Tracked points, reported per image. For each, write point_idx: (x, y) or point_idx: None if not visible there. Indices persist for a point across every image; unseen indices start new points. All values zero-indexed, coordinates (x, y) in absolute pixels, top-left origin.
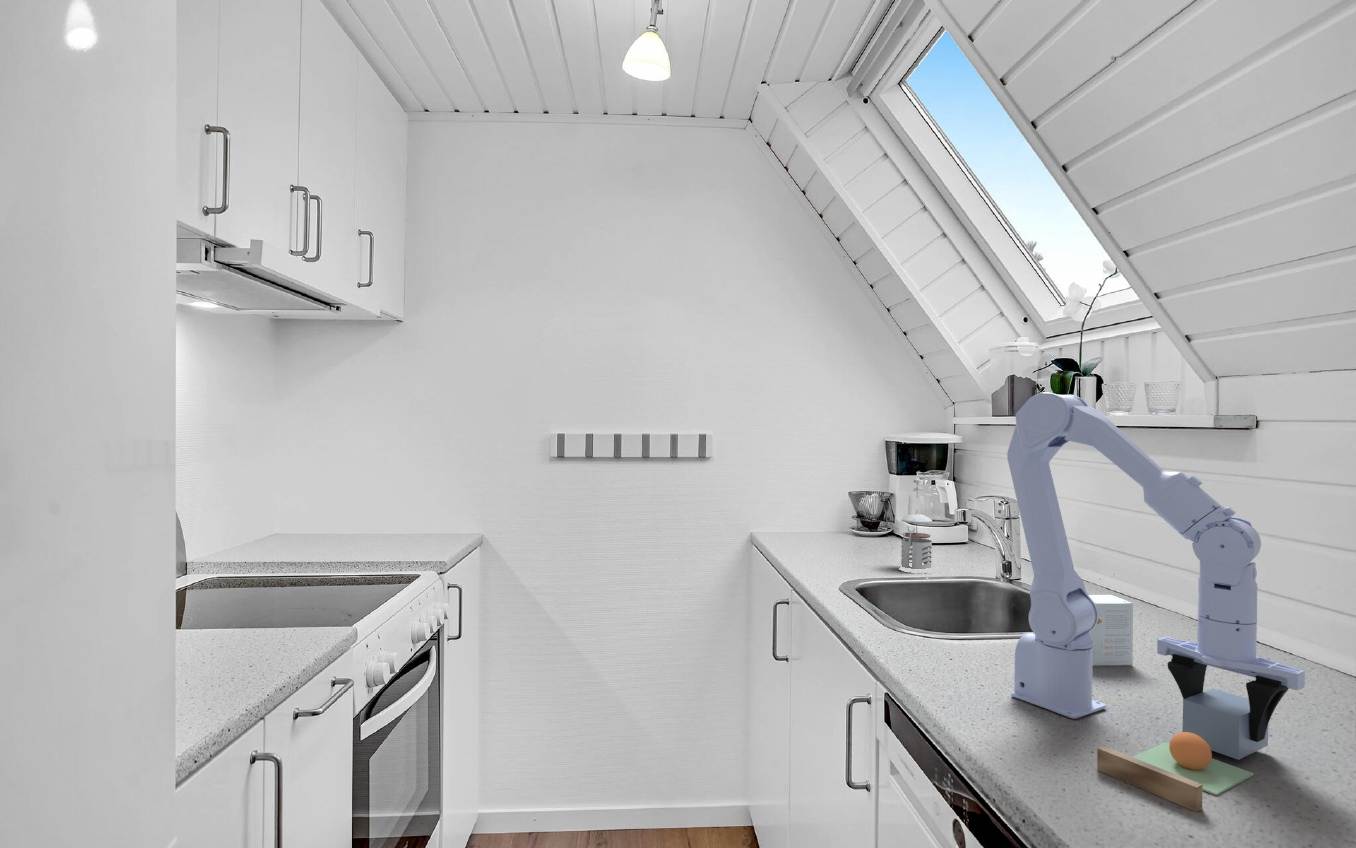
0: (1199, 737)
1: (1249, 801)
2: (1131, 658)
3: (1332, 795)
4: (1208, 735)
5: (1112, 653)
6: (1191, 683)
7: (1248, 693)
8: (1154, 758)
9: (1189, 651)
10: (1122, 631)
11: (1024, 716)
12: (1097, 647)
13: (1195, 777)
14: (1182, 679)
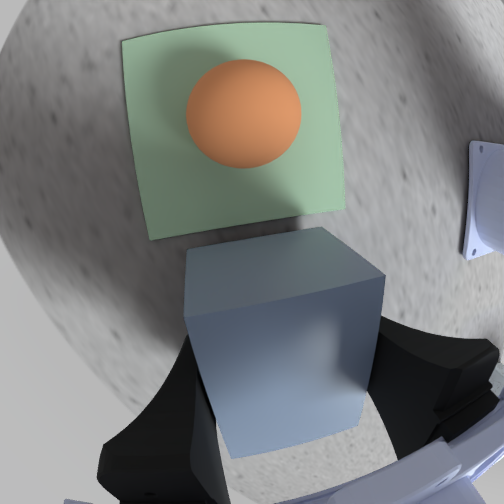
0: (227, 118)
1: (78, 94)
2: None
3: (54, 302)
4: (269, 251)
5: None
6: (404, 365)
7: (189, 432)
8: (303, 80)
9: (491, 444)
10: None
11: (491, 84)
12: (494, 388)
13: (192, 69)
14: (433, 347)
